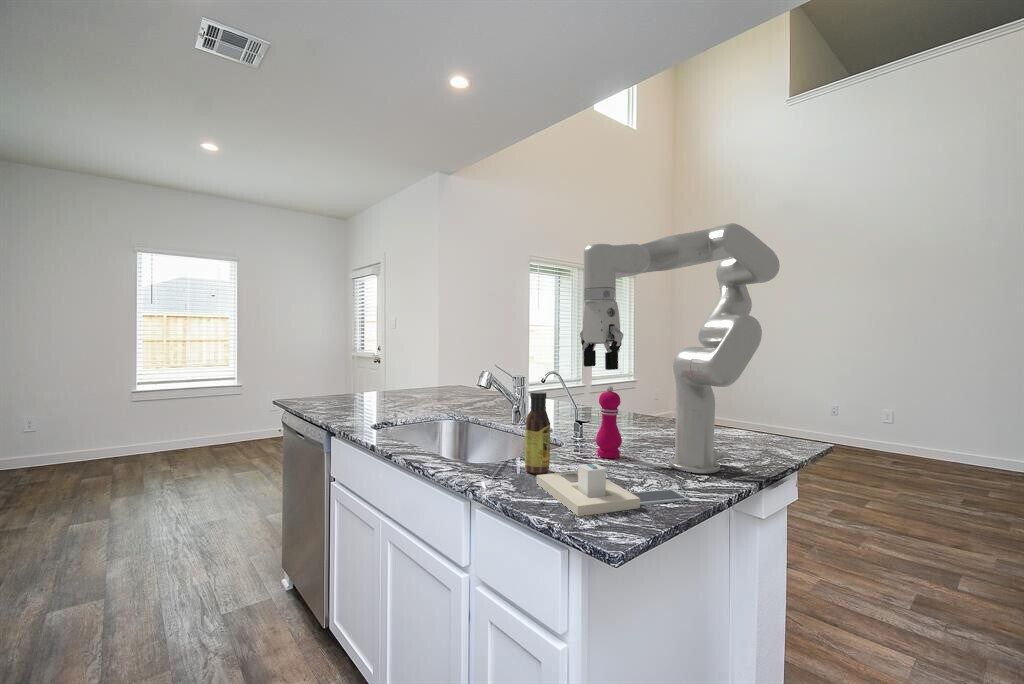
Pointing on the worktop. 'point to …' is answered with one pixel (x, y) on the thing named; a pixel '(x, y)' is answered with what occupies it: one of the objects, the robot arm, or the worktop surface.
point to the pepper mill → (609, 425)
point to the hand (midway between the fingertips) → (600, 367)
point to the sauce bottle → (537, 436)
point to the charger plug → (592, 480)
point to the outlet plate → (578, 503)
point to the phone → (659, 496)
